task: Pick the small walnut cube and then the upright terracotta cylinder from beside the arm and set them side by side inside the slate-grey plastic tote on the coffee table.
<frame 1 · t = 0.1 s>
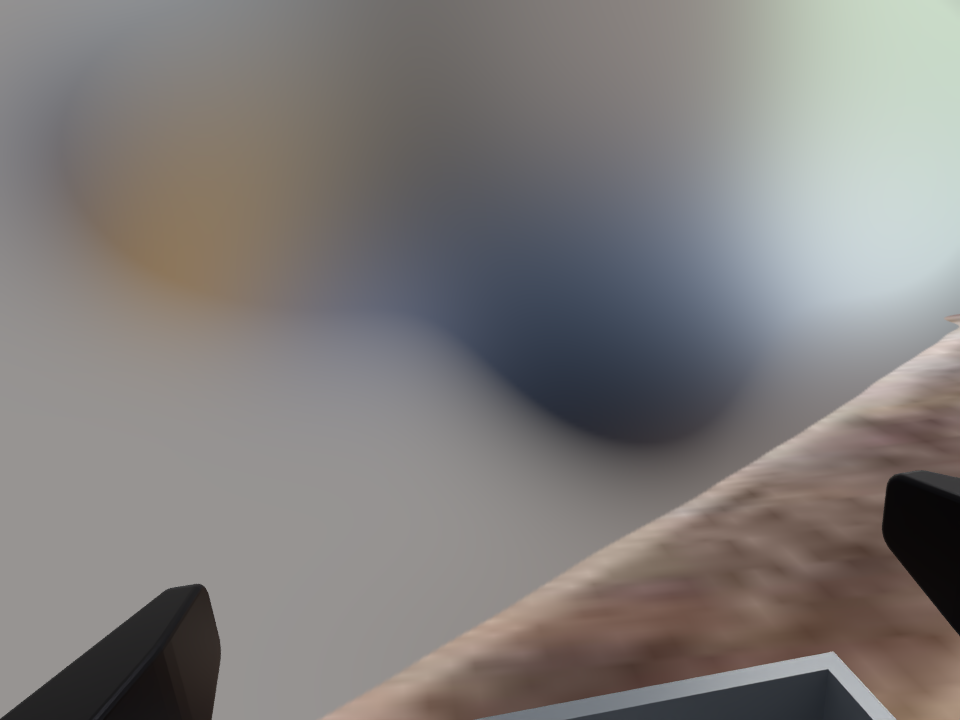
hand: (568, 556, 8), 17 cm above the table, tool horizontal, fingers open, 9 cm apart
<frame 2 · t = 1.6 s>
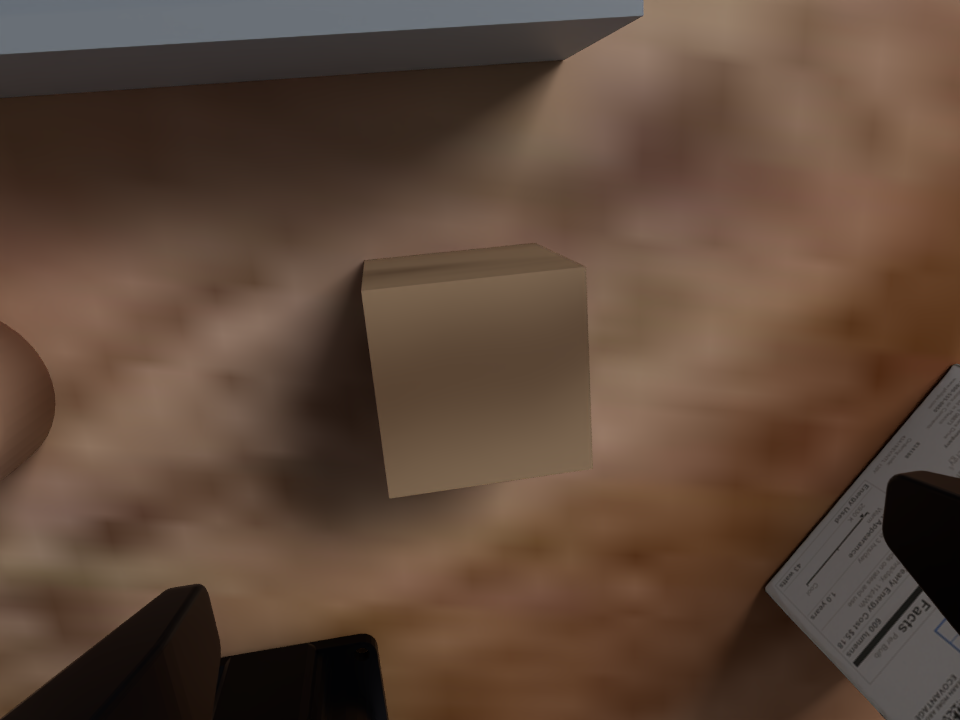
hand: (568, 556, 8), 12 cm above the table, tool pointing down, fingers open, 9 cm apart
light bulb box: (903, 515, 25), on the table
walnut cube: (458, 334, 20), on the table
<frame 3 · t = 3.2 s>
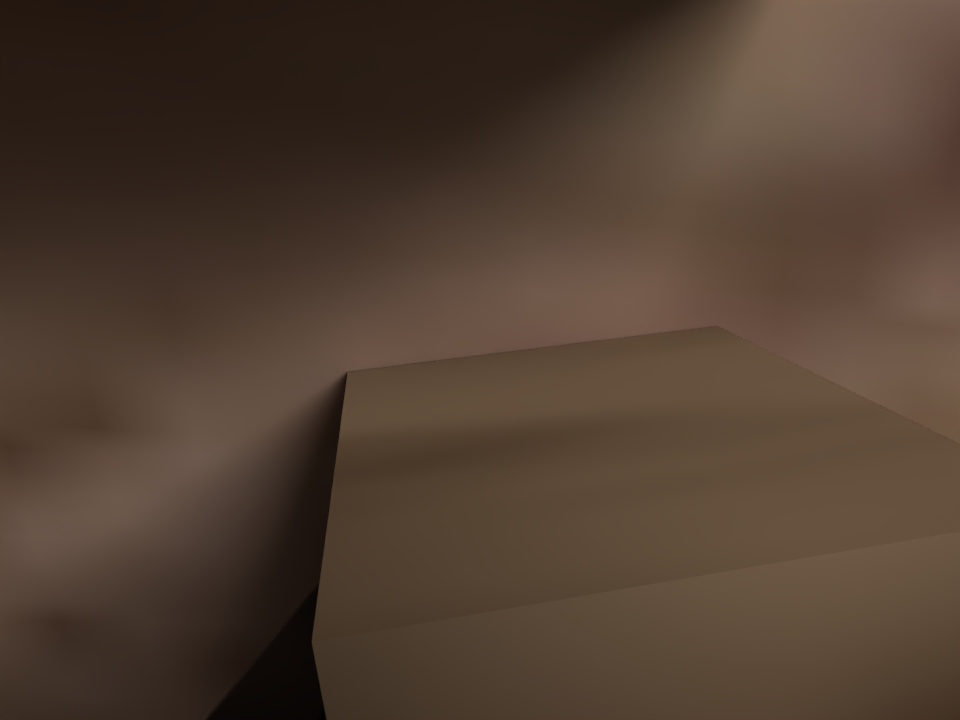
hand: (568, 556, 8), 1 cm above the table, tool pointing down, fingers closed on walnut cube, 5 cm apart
walnut cube: (548, 514, 9), on the table, touching gripper
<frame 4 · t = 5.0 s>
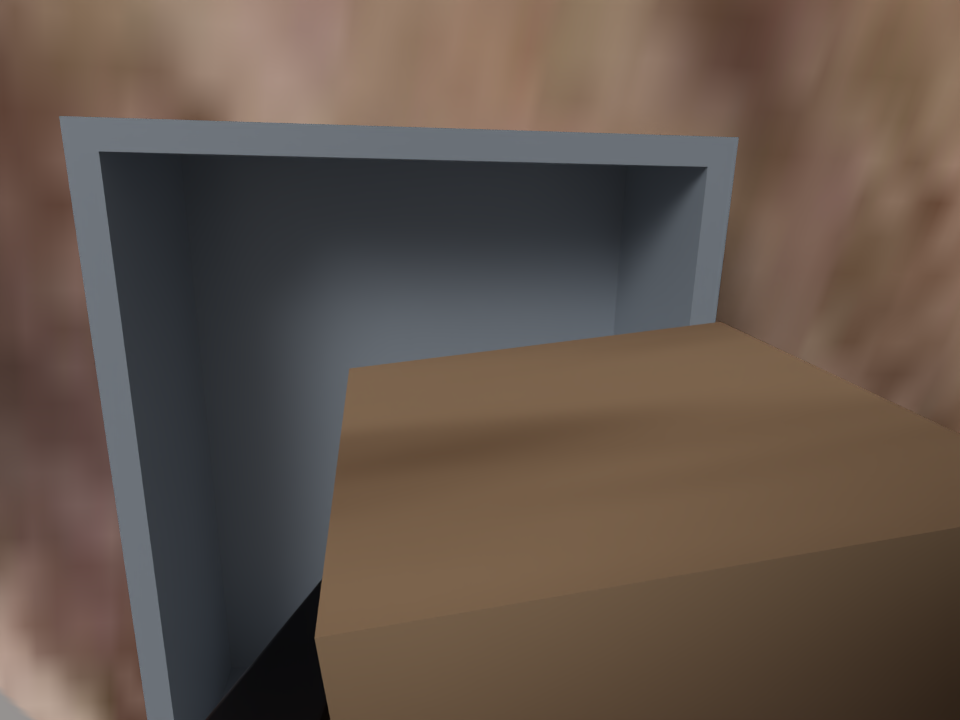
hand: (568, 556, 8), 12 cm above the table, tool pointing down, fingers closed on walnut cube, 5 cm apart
tote: (414, 427, 21), on the table
walnut cube: (551, 512, 9), point 11 cm above the table, touching gripper
when the fingers open (4 cm above the table, at t = 6.9 s): walnut cube drops 2 cm, resting on tote.
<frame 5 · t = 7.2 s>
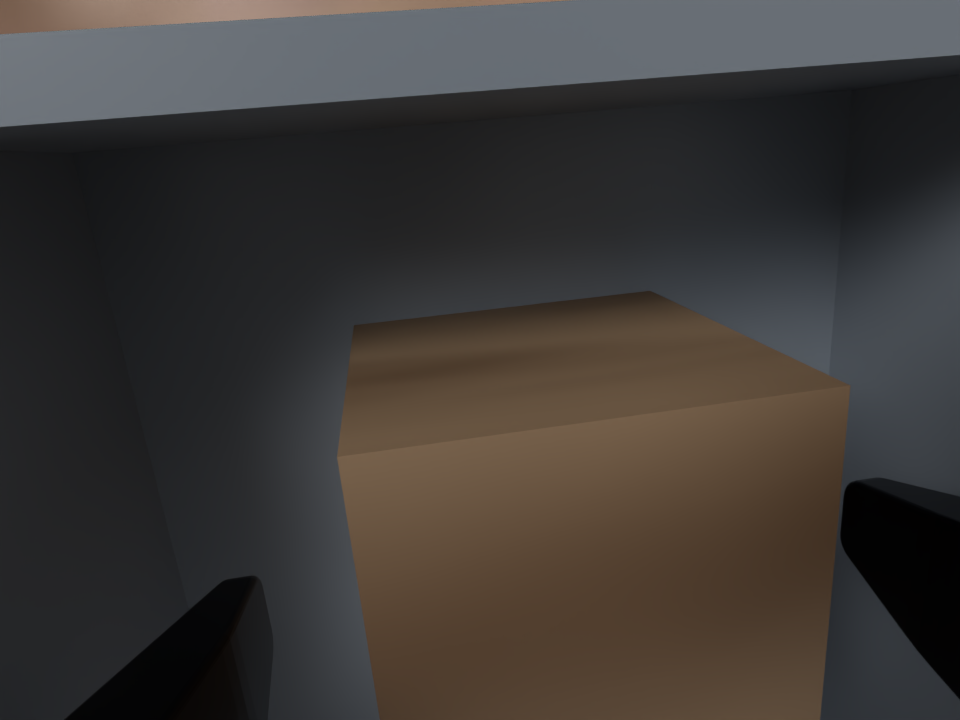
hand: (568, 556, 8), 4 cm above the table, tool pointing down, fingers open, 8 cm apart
tote: (516, 551, 13), on the table
walnut cube: (516, 445, 12), point 1 cm above the table, touching tote
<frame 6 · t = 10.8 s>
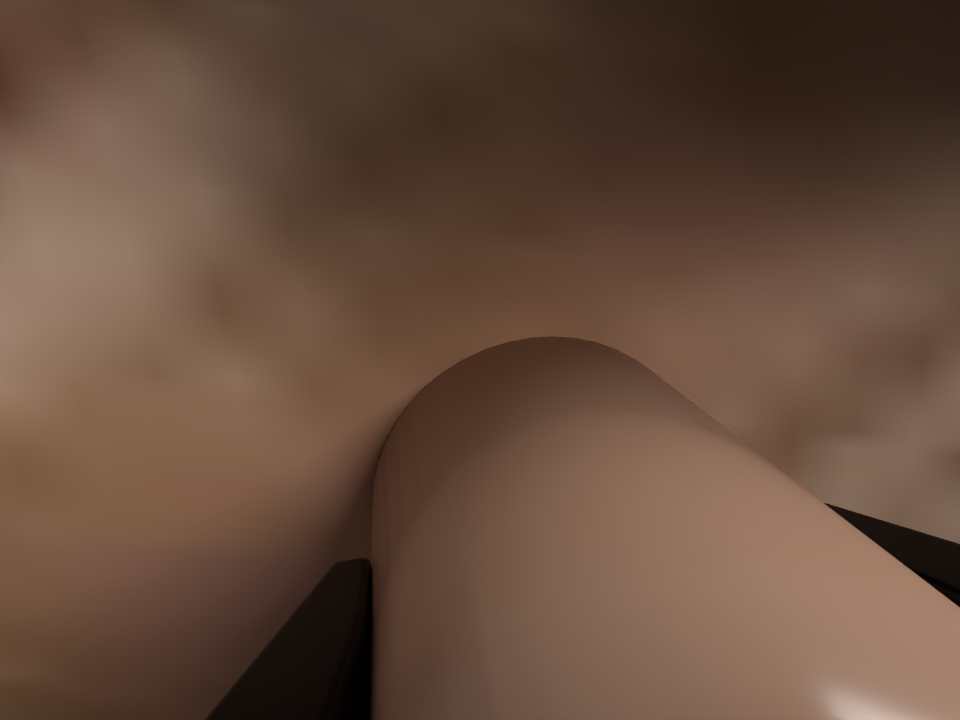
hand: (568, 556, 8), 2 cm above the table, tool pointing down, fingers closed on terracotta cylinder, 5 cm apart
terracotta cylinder: (540, 497, 10), on the table, touching gripper
when the fingers open (4 cm above the table, at t = 14.5 s): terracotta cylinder drops 2 cm, resting on tote.
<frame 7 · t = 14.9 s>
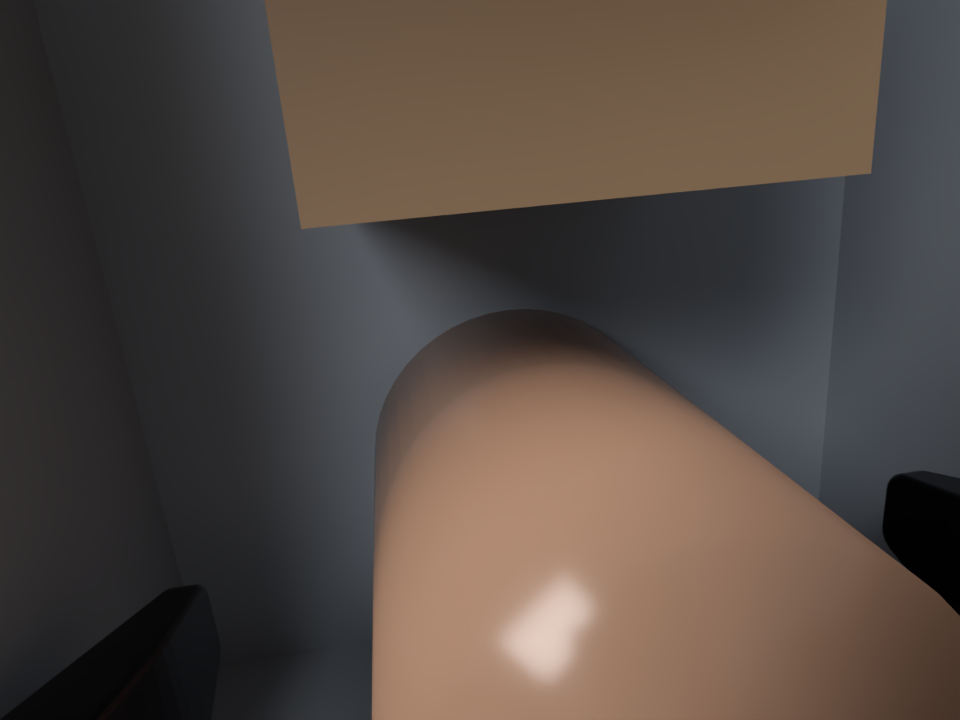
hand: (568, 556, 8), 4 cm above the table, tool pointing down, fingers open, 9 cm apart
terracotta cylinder: (517, 447, 12), point 1 cm above the table, touching tote
tote: (488, 184, 11), on the table
walnut cube: (484, 3, 10), point 1 cm above the table, touching tote
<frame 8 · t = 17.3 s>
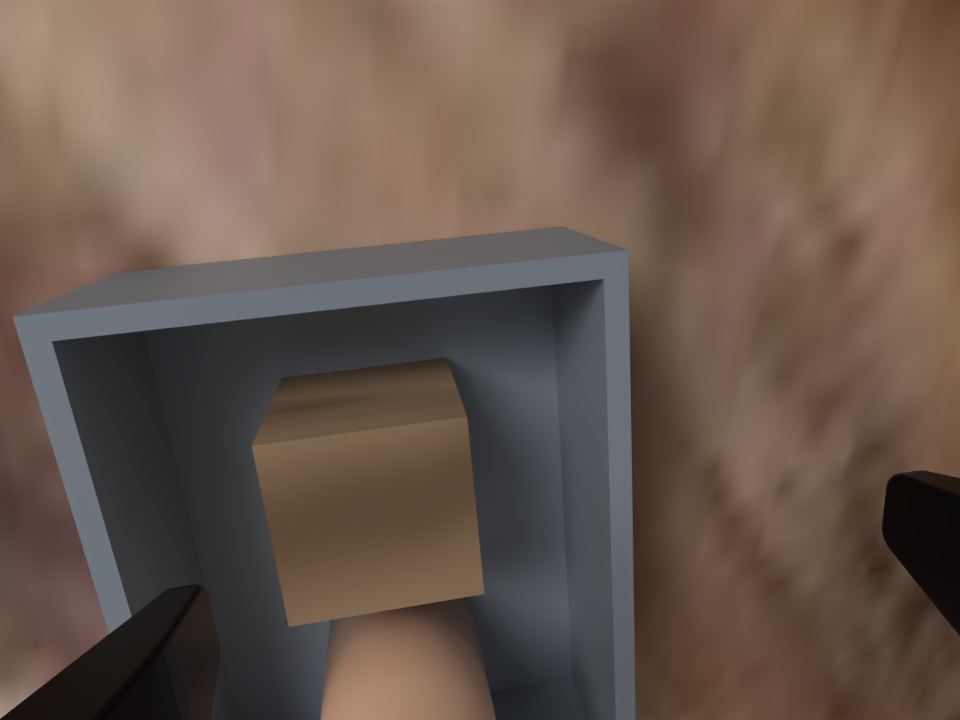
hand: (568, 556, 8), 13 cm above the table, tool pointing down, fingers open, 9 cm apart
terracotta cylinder: (402, 627, 23), point 1 cm above the table, touching tote
tote: (384, 504, 22), on the table
walnut cube: (375, 442, 21), point 1 cm above the table, touching tote
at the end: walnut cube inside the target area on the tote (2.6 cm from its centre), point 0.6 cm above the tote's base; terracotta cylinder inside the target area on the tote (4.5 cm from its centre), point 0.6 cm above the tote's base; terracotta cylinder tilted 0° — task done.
